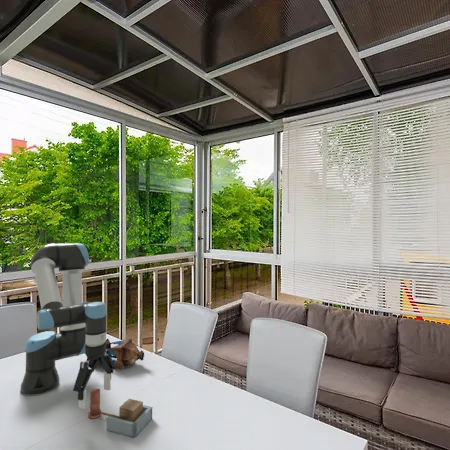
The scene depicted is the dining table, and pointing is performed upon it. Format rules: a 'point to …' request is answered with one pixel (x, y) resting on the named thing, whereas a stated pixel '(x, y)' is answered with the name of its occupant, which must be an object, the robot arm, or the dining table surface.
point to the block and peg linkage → (126, 412)
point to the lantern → (124, 353)
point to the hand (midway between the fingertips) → (95, 398)
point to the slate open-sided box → (129, 423)
